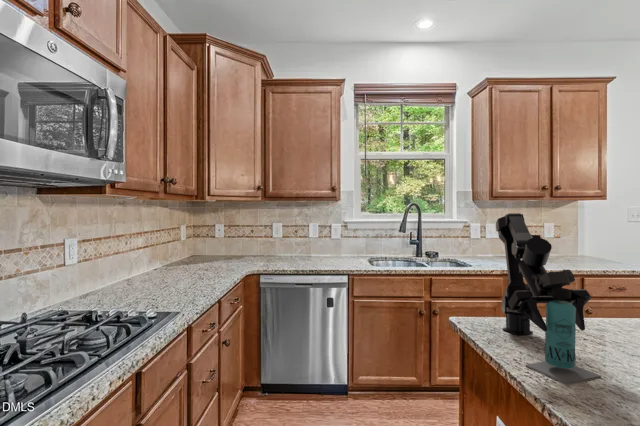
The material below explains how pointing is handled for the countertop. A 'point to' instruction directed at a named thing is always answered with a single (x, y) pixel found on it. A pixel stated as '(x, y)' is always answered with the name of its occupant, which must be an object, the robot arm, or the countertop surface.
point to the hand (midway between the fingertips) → (564, 330)
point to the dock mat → (563, 373)
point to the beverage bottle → (560, 330)
